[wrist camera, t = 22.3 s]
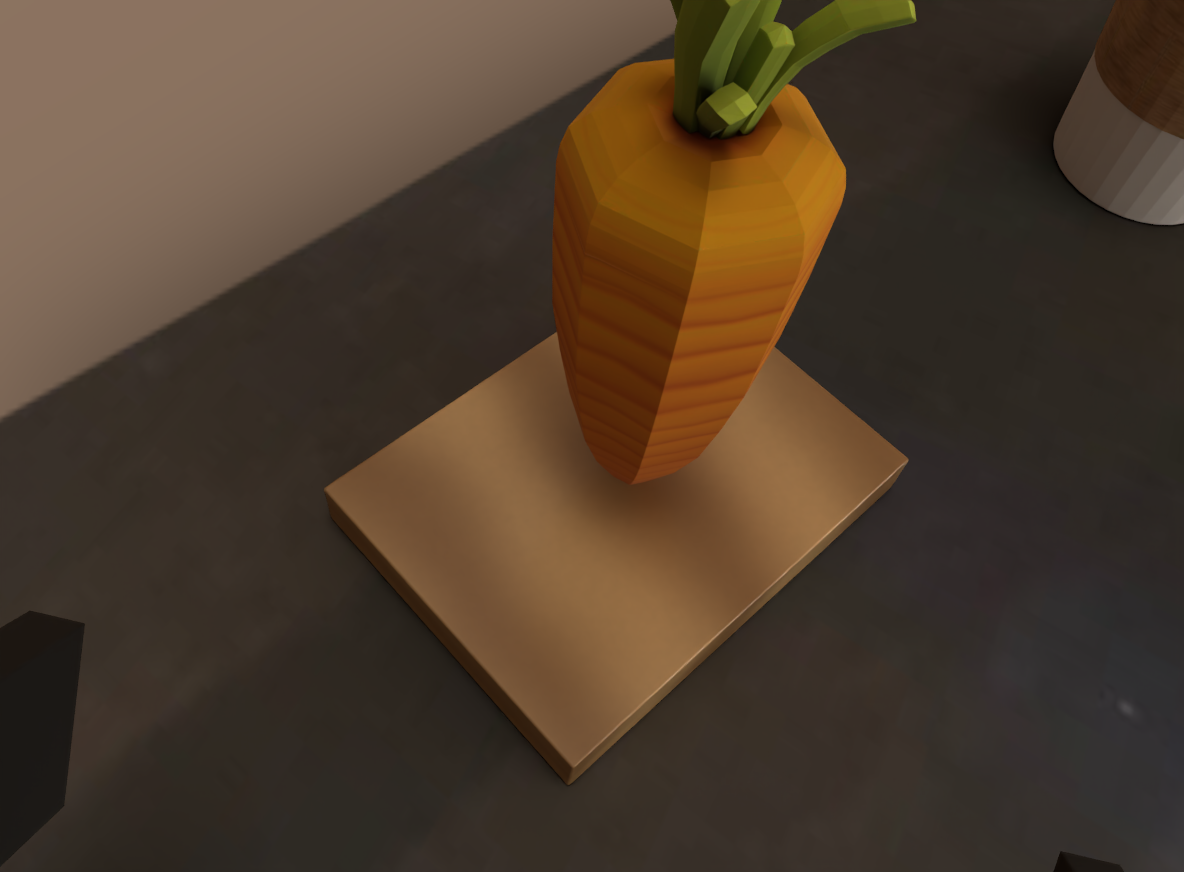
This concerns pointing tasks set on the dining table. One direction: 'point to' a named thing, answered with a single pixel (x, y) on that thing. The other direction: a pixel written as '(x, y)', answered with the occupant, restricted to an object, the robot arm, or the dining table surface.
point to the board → (601, 540)
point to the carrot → (693, 225)
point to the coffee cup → (1130, 115)
